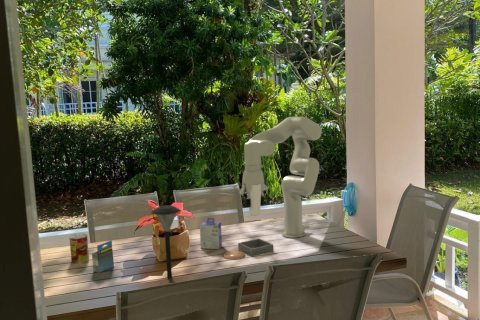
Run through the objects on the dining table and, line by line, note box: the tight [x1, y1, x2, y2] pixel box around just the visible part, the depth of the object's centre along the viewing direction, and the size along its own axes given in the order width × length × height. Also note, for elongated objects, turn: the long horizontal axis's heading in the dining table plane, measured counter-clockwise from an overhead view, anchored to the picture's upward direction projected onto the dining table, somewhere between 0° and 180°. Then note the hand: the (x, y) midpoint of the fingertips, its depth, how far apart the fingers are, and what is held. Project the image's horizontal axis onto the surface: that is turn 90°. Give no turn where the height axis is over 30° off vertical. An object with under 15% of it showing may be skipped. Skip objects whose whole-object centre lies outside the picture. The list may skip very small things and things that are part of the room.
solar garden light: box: [150, 204, 181, 279], centre depth 195 cm, size 12×12×30 cm
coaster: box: [223, 250, 246, 260], centre depth 221 cm, size 10×10×1 cm
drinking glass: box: [247, 184, 262, 217], centre depth 224 cm, size 7×7×15 cm
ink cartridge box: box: [199, 217, 223, 250], centre depth 235 cm, size 10×6×14 cm, turn 79°
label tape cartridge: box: [91, 239, 115, 274], centre depth 209 cm, size 9×4×12 cm, turn 150°
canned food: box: [69, 233, 90, 265], centre depth 222 cm, size 8×8×12 cm
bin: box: [237, 238, 274, 257], centre depth 227 cm, size 12×12×4 cm
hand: (254, 205), depth 225 cm, fingers closed on drinking glass, 6 cm apart
